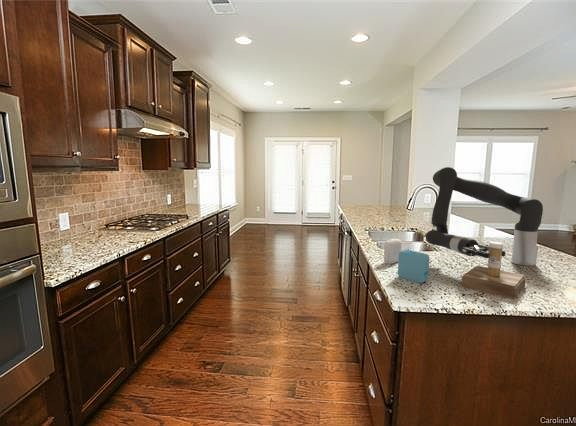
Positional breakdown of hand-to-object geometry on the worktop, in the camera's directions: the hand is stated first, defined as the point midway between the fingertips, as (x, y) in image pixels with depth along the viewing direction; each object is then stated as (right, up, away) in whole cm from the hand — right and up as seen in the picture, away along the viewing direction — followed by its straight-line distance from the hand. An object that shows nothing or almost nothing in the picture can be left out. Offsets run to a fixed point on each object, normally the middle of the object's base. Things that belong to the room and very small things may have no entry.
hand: (496, 255), depth 124 cm
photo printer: (-30, -9, +36) cm, 48 cm away
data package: (-29, -12, +12) cm, 34 cm away
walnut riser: (0, -13, +2) cm, 14 cm away
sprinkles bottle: (0, -9, +2) cm, 9 cm away
